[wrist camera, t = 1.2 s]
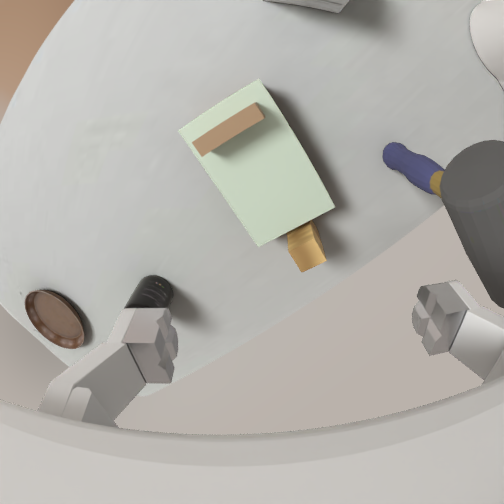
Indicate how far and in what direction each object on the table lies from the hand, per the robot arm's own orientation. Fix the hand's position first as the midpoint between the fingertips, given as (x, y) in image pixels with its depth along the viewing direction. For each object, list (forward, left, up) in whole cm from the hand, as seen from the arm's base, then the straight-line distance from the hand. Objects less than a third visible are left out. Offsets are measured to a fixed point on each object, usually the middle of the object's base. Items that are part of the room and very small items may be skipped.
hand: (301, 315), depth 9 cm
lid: (+3, +2, -30) cm, 31 cm away
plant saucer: (+56, +25, -36) cm, 71 cm away
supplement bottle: (+26, +21, -35) cm, 49 cm away
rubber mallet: (-16, +4, -35) cm, 39 cm away
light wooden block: (-1, +13, -35) cm, 38 cm away
